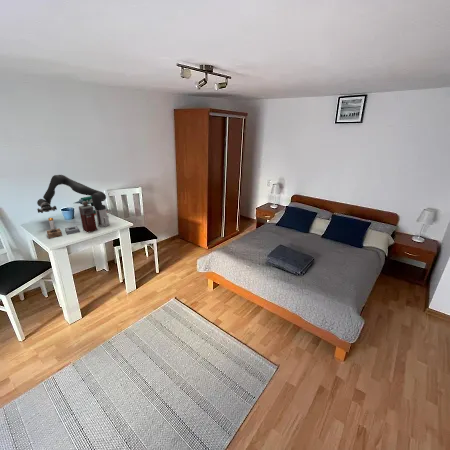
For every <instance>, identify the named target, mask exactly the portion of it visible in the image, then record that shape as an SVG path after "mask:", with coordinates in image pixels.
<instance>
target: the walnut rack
mask: <svg viewBox="0 0 450 450" xmlns="http://www.w3.org/2000/svg"><path fill="white" fill-rule="evenodd" d="M55 229H56V232H52V231H51V229H48V230H46V235H47V237H48V239H53V238H59V237H62V236H63V232H62V230H61V228H59V227H58V228H55Z"/></svg>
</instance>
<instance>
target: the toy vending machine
mask: <svg viewBox="0 0 450 450" xmlns="http://www.w3.org/2000/svg"><path fill="white" fill-rule="evenodd" d="M78 210H79V215H80V219H81V224H82V229H83V231H84V232H86V233H87V232H88V233H92V232H94V231H97V230H98V228H97V222H96V218H95V216H96V215H94V211H93V210H94V206H91V204H88V202H86V201H83V202H82V204H81V205H79V206H78Z"/></svg>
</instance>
